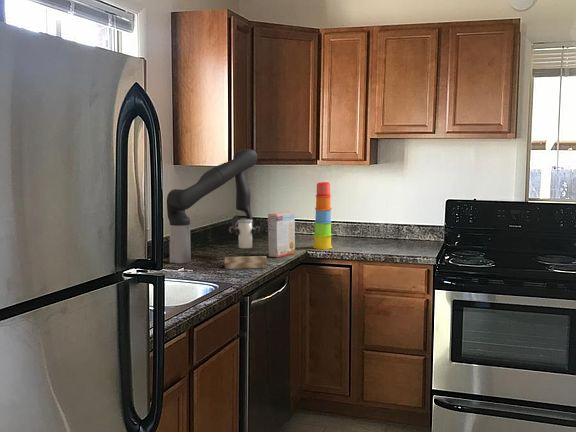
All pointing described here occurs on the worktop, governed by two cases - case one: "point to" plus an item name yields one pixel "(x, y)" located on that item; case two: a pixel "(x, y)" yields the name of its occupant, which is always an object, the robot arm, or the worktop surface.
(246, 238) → the cylinder
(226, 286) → the worktop surface
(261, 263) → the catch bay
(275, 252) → the cracker box
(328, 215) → the stacking cups
